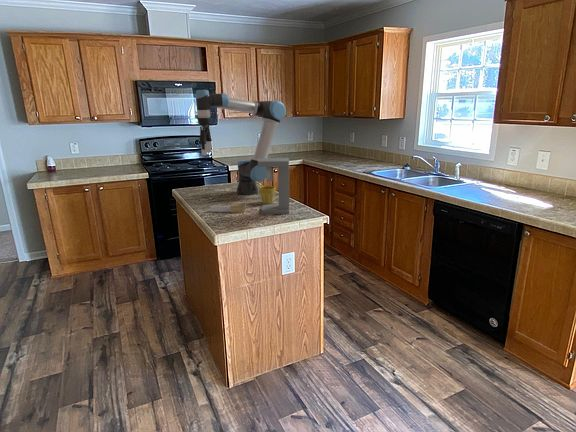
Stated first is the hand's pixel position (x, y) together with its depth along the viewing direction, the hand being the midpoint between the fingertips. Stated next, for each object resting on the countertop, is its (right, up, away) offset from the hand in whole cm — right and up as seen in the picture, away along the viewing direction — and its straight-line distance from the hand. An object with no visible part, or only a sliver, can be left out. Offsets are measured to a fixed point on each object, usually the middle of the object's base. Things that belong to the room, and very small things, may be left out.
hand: (206, 153), depth 228 cm
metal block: (+13, -35, -7) cm, 38 cm away
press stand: (+41, -35, -8) cm, 55 cm away
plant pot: (+36, -30, +11) cm, 48 cm away
